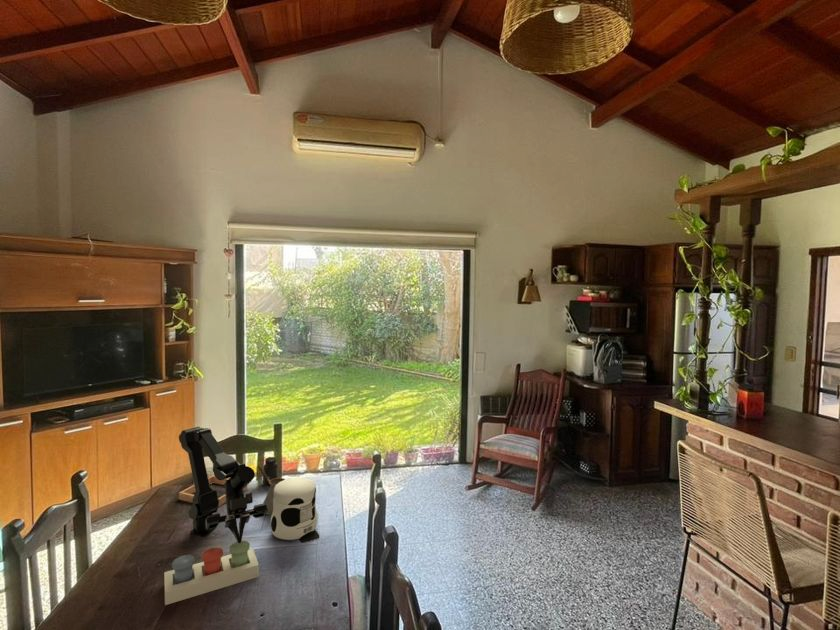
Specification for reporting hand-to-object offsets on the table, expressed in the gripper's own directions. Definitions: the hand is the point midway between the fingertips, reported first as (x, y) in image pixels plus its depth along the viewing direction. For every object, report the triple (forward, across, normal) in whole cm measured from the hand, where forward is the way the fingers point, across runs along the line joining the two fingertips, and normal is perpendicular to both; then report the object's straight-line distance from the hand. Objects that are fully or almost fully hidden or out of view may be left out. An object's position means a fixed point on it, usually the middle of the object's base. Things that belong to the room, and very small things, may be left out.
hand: (239, 542), depth 140 cm
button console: (+7, -8, +7) cm, 13 cm away
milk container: (-3, +22, +18) cm, 29 cm away
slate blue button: (+5, -16, +5) cm, 18 cm away
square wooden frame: (-36, -1, +50) cm, 62 cm away
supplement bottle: (-36, +23, +50) cm, 65 cm away
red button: (+5, -8, +5) cm, 11 cm away
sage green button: (+5, 0, +5) cm, 7 cm away
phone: (-2, +26, +18) cm, 31 cm away
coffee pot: (-20, +18, +34) cm, 43 cm away
